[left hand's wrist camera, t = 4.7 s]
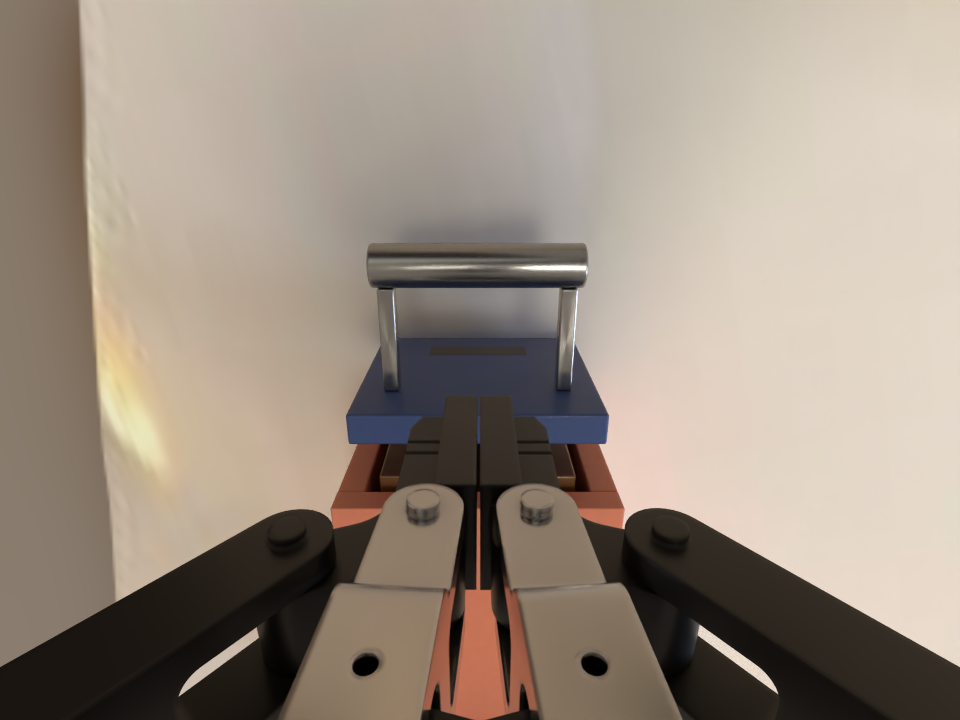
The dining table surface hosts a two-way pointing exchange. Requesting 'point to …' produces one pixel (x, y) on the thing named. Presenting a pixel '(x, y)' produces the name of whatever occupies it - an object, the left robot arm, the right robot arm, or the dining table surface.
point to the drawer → (477, 351)
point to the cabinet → (479, 648)
